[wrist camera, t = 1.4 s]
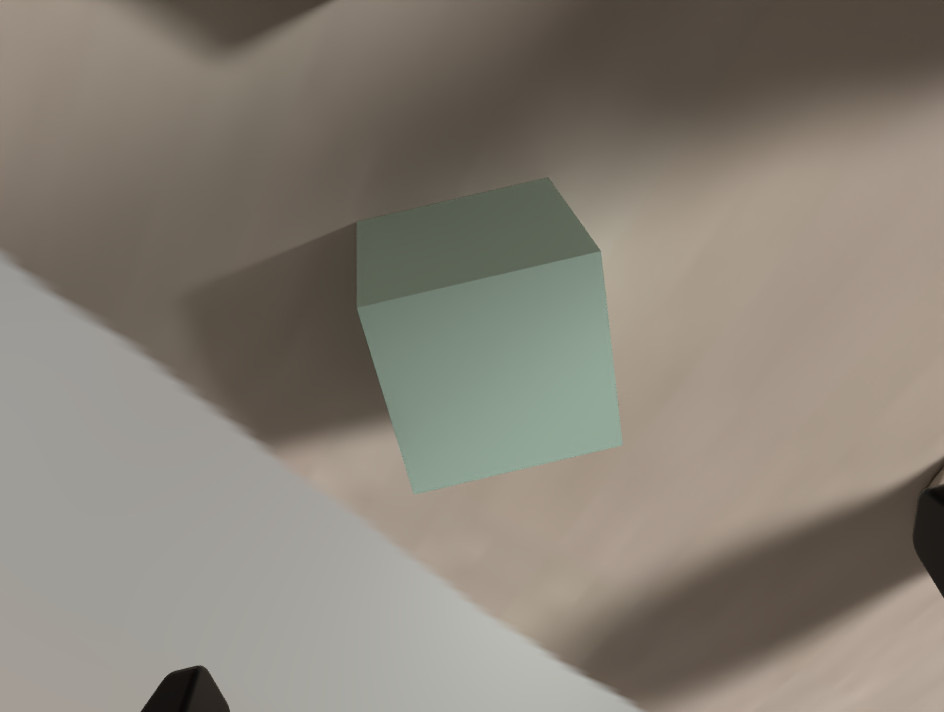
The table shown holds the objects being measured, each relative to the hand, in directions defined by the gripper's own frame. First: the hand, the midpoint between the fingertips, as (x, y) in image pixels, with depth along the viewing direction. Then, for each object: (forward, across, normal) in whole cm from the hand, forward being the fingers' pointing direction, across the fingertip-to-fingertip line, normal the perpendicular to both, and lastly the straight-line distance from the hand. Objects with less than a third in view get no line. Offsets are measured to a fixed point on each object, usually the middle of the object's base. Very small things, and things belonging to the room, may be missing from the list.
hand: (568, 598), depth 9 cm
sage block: (+12, 0, +2) cm, 12 cm away
